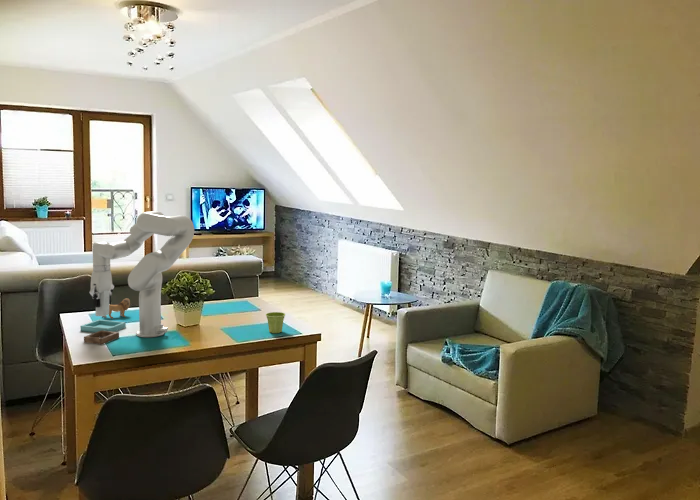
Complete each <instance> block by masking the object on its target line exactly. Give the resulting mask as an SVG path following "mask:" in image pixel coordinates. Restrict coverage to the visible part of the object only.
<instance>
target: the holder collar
mask: <svg viewBox="0 0 700 500" xmlns="http://www.w3.org/2000/svg"><path fill="white" fill-rule="evenodd" d="M119 338H120V332H119V331H115V332H111V331H103V330H101V331H98V332H95V333H91V334H87V335H84V336H83V342H84V343H87V344H96V345H104V343H105V344H107V343H110V342H112V341H114V339H115V340H117V339H119ZM109 341H110V342H109Z"/></svg>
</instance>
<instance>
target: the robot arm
mask: <svg viewBox="0 0 700 500" xmlns="http://www.w3.org/2000/svg"><path fill="white" fill-rule="evenodd" d="M129 233H130V235H128V236H127V237H126V238H125V239H123V240H121V241H116V242H110V243H109V242H107V241H95V242H93V243H92V272H91V275H90V276H91V277H90V290H89V294H90V296H91V298H92V299H93V307H94V308H96V307H100V299H99V297H100V293H102V292H103V291H109V305H112V295H113V291H114V288H115V285H114V284H113V277H112V271H111V260H117V259H121V258H126V257H129V256H130V255H132V254H133V253H134V252H136V251H137V250H138V249H140V248H141V247H142V245H143V244H144V242H145V241H147V240H148V239H150V238H151V236H153V235H160V236H165V237H170V238H169V239H168V240H167V241H166V242H165V243H164V244H163V245H162V247H161V248H159V250H156V251H153V252H150V253H149V252H148V253H147V254H146V255H144V256H143V257H142V258H141V259H140V260H139V261H138V263H137V264H136V265H135V266H134V268H133V269H132V270H131V271H130V273H129V274H128V277H127V284H128V287H129V288H130V289H132V290H133V291H137V292H139V293H138V313H139V314H138V316H139V317H138V319H139V320H138V321H139V330H137V331H136V332H135V335H136V337H137V336H138V337H139V338H157V337H160V336H163V335H164V334H165V333H168V330H169V327H166V326H165V327H164V323H162V305H161V303H162V299H161V298H162V297H161V295H162V293H161V291H162V284H163V272H166V271H168V270H169V269H171V268H172V266H173V265H174V264H175V263H176V261H177V260H178V259H179V258H180V256H181V255H182V254H183V253H184V252H185V250H186V249H188V247H189V245H190V244H191V243H192V241H193V239H194V234H195V226H194V223H193V221H192V219H191V218H190V217H188V216H187V215H173V216H172V215H171V216H167V215H166V216H165V215H164V213H163V212H160V211H157V210H153V211H145V212H142V213H140V214H139V215H138V217H137V219H136V223H135V224H132V226H131V227H130V228H129ZM96 291H98V292H96ZM96 294H97V295H96Z"/></svg>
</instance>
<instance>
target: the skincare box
mask: <svg viewBox="0 0 700 500" xmlns="http://www.w3.org/2000/svg"><path fill="white" fill-rule="evenodd" d="M96 292H98V291H96ZM96 295H97V294H96ZM99 299H100V307H95V317H102V316H109V305H110V304H109V291H103V292H102V293H100V297H99Z"/></svg>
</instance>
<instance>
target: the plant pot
mask: <svg viewBox="0 0 700 500" xmlns="http://www.w3.org/2000/svg"><path fill="white" fill-rule="evenodd" d="M265 316H266V319H267V324H268V331H269V333H270V334H271V333H272V334H279V333H282V332H283V327H284V320H285V317H286V313H285V312H281V311H273V312H271V311H270V312H267V313H265Z"/></svg>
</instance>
